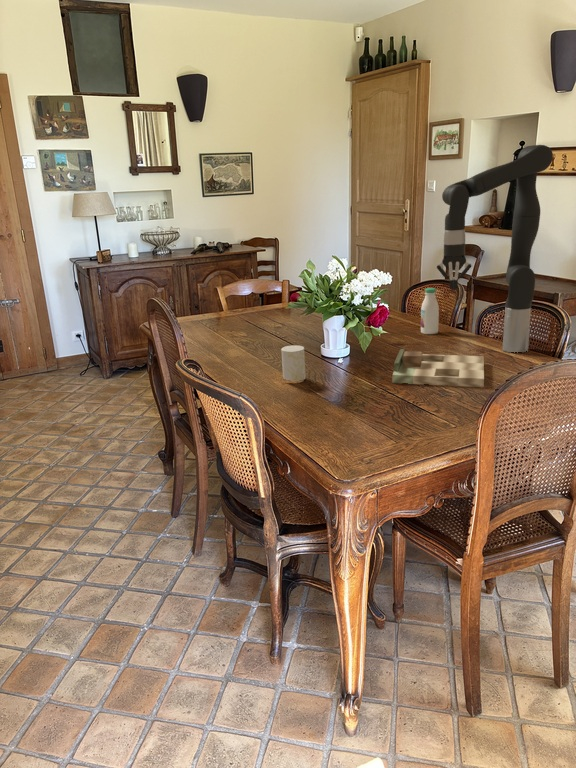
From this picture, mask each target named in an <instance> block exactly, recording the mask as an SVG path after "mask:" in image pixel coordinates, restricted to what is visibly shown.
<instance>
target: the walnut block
mask: <svg viewBox="0 0 576 768" xmlns="http://www.w3.org/2000/svg"><path fill="white" fill-rule="evenodd" d="M422 354H423V352H422V351H415V350H414V351H413V350H411V351H410V350H407V351H406V350H404V356H403V367H421V363H422Z"/></svg>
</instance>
